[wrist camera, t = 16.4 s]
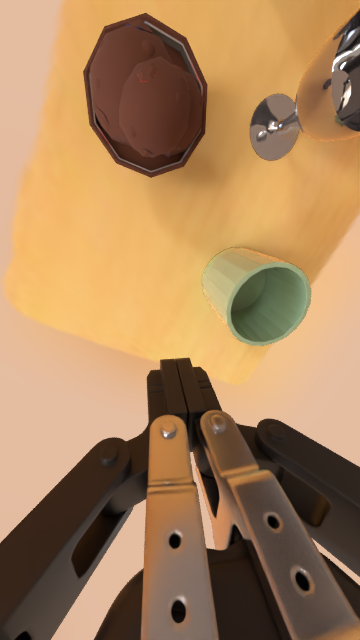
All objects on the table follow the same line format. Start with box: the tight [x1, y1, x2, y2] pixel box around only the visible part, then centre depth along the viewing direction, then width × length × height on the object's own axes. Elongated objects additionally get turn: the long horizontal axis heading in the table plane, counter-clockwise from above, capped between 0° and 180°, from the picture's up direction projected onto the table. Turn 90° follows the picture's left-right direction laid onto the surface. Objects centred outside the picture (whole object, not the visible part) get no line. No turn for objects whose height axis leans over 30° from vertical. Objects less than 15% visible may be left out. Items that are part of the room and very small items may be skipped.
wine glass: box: [250, 8, 360, 161], centre depth 24 cm, size 8×8×15 cm
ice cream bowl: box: [83, 13, 207, 177], centre depth 22 cm, size 11×11×15 cm
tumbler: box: [202, 247, 311, 346], centre depth 34 cm, size 11×11×12 cm
